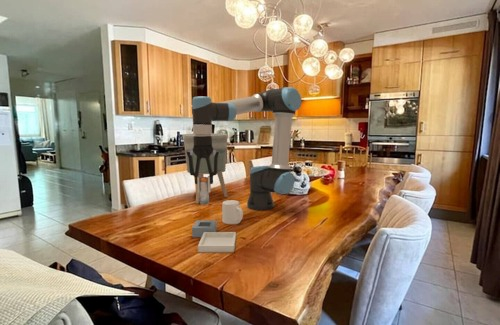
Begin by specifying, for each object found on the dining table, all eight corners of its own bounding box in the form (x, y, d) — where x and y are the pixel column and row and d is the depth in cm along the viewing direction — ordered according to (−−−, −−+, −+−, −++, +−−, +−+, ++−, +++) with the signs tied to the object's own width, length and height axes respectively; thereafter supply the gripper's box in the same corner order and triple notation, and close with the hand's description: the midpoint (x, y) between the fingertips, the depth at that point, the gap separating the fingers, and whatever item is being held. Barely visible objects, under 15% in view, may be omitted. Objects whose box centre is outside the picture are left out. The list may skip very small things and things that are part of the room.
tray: (235, 237, 113) (235, 232, 112) (233, 252, 100) (233, 245, 99) (204, 237, 113) (204, 232, 112) (198, 252, 100) (197, 245, 100)
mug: (217, 202, 131) (230, 198, 137) (218, 221, 133) (230, 217, 138) (235, 207, 123) (247, 203, 129) (235, 227, 125) (247, 222, 130)
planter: (236, 196, 177) (236, 133, 172) (209, 207, 155) (207, 135, 150) (205, 191, 191) (204, 133, 186) (176, 200, 169) (173, 134, 164)
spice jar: (209, 202, 118) (208, 176, 116) (208, 204, 114) (207, 178, 113) (201, 202, 118) (200, 177, 116) (199, 204, 114) (198, 178, 113)
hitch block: (216, 229, 122) (216, 220, 122) (214, 237, 113) (213, 228, 113) (196, 229, 122) (196, 220, 122) (192, 237, 113) (191, 228, 113)
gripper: (224, 135, 116) (225, 189, 119) (184, 135, 116) (186, 189, 119) (222, 135, 108) (223, 193, 112) (179, 136, 108) (182, 194, 112)
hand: (204, 191), depth 115 cm, fingers closed on spice jar, 4 cm apart
